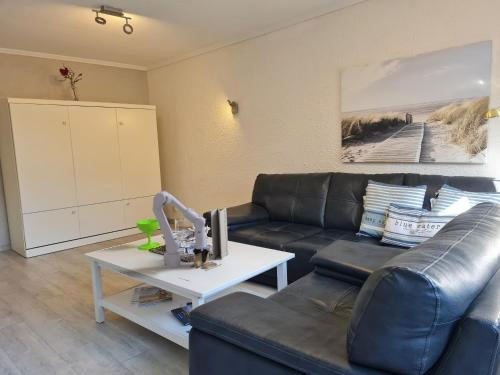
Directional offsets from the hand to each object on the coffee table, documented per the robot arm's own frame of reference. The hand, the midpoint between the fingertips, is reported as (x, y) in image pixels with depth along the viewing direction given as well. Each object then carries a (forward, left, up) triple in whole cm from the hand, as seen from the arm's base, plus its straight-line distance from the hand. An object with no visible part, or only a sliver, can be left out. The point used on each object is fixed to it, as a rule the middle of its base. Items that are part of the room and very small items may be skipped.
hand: (201, 261), depth 207 cm
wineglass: (-62, +10, -3) cm, 63 cm away
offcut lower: (+6, 0, -2) cm, 6 cm away
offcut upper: (+6, 0, -2) cm, 6 cm away
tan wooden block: (0, 0, -2) cm, 2 cm away
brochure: (-2, +18, -3) cm, 19 cm away
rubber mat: (+7, -14, -3) cm, 16 cm away
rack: (+4, 0, -3) cm, 5 cm away
